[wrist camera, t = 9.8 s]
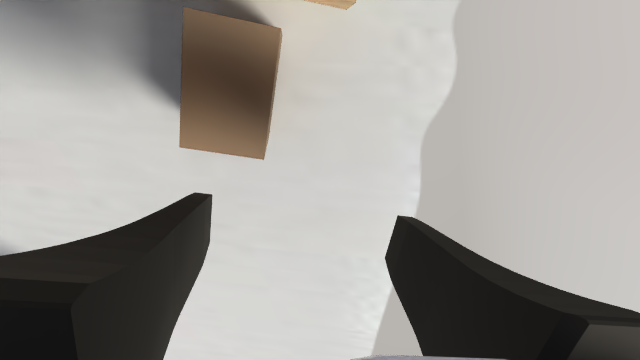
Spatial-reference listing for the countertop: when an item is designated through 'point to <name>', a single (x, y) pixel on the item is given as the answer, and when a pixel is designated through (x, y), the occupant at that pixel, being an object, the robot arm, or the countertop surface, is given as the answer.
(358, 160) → the countertop surface
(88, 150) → the countertop surface
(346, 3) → the oak board
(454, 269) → the robot arm
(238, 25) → the walnut block
